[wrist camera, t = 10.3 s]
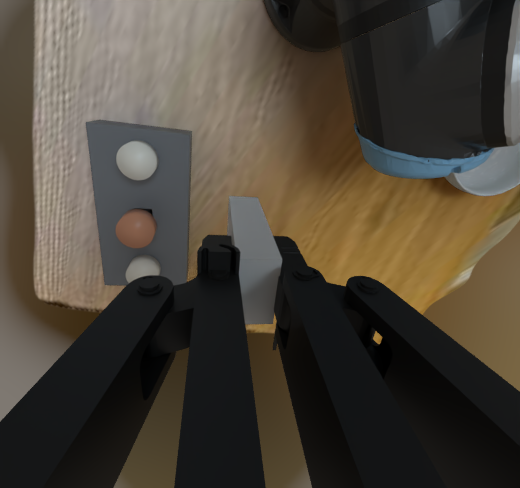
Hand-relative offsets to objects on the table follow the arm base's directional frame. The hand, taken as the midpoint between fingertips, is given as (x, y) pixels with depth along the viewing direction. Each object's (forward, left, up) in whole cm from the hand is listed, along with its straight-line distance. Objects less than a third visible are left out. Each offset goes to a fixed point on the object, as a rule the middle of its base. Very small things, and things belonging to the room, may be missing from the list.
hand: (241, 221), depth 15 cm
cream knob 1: (+10, +2, -30) cm, 32 cm away
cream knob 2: (+10, +18, -30) cm, 36 cm away
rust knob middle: (+10, +10, -27) cm, 31 cm away
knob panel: (+10, +10, -30) cm, 33 cm away
